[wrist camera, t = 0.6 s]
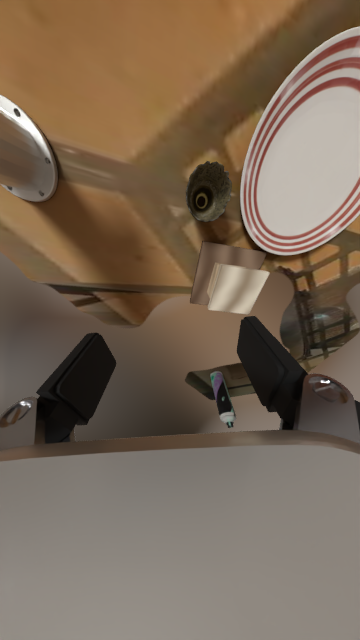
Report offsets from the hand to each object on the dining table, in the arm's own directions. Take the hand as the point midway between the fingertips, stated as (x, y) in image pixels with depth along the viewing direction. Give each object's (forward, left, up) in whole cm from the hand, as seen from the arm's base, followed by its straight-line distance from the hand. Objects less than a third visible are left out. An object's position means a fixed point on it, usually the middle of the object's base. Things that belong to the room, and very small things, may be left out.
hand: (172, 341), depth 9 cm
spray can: (+25, -46, -31) cm, 61 cm away
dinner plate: (+24, +19, -31) cm, 44 cm away
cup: (+4, +12, -31) cm, 33 cm away
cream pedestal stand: (+14, -3, -31) cm, 34 cm away
